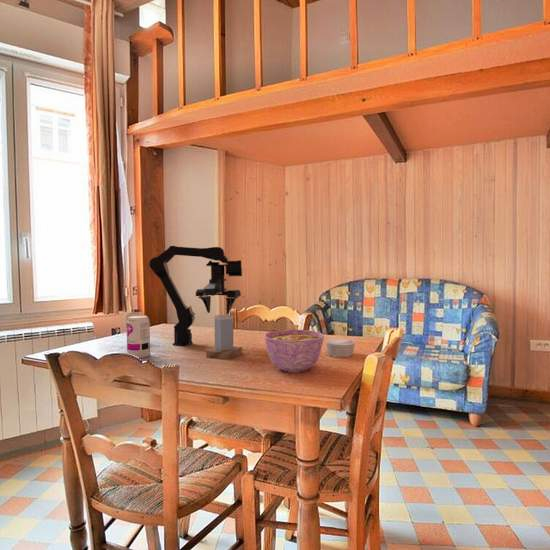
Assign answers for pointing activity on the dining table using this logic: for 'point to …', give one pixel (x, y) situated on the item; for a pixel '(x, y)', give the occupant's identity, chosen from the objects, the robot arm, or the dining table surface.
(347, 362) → the dining table surface
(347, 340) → the ramekin
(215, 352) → the brown square tray
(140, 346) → the supplement can
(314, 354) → the bowl of food
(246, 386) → the dining table surface
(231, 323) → the tin
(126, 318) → the character mug
